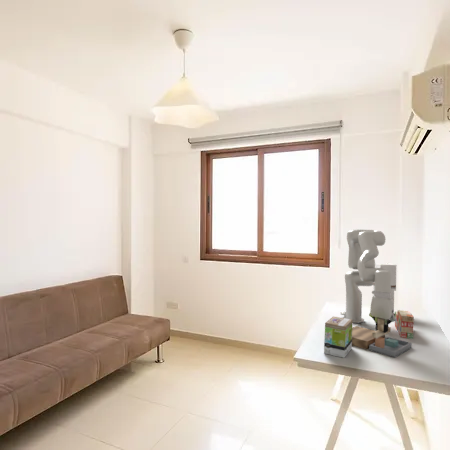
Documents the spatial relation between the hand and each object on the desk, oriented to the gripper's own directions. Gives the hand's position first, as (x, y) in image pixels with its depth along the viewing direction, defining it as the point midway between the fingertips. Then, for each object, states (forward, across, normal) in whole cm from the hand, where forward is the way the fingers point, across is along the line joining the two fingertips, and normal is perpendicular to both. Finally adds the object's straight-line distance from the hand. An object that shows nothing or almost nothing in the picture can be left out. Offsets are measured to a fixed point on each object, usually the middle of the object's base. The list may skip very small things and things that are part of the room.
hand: (381, 330), depth 169 cm
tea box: (+8, -10, -23) cm, 27 cm away
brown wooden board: (+8, -11, 0) cm, 13 cm away
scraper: (+2, 0, 0) cm, 2 cm away
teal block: (+5, +3, +4) cm, 7 cm away
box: (+8, +4, 0) cm, 9 cm away
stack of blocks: (+8, -2, +33) cm, 34 cm away
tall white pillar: (+8, -27, +63) cm, 69 cm away
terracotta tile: (+5, 0, -4) cm, 6 cm away
